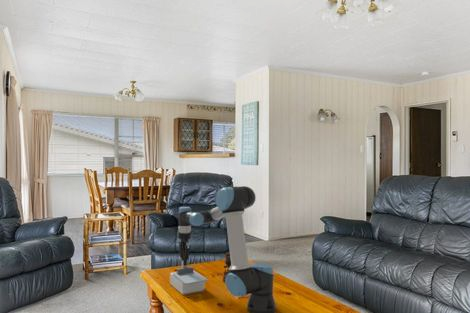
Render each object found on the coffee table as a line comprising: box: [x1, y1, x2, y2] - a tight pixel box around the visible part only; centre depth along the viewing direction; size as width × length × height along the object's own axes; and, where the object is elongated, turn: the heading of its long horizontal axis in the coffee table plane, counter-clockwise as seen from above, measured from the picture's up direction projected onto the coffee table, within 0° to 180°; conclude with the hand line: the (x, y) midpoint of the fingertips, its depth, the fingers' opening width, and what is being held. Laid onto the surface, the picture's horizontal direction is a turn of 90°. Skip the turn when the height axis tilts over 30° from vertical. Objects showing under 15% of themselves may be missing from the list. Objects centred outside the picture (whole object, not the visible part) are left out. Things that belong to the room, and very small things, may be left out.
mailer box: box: [169, 271, 206, 296], centre depth 219 cm, size 20×14×7 cm
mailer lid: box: [173, 266, 209, 285], centre depth 215 cm, size 20×14×4 cm
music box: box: [221, 251, 231, 283], centre depth 233 cm, size 15×11×20 cm
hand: (184, 270), depth 223 cm, fingers closed
